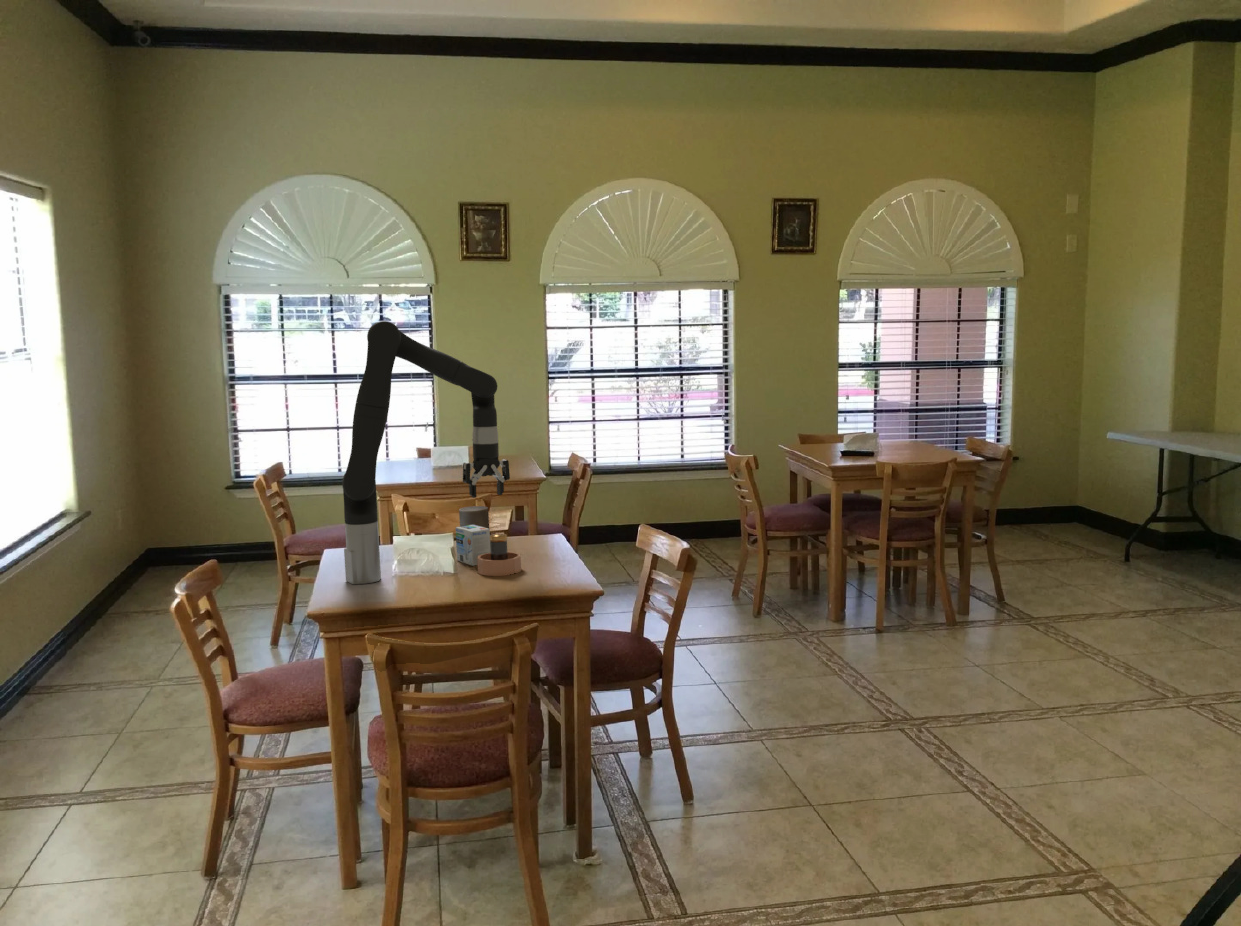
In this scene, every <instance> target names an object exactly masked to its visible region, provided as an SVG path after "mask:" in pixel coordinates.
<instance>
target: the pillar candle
mask: <svg viewBox="0 0 1241 926" xmlns="http://www.w3.org/2000/svg"><path fill="white" fill-rule="evenodd" d="M458 511H459V512H458V515H459V527H462V526H468V525H476V526H480V527H484V528H488V529H490V520H489V519H490V518H489V517H490V513H489V506H488V507H487V506H483V505H477V506H476V505H473V506H466V507H461V508H459V509H458Z"/></svg>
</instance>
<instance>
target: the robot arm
mask: <svg viewBox="0 0 1241 926" xmlns="http://www.w3.org/2000/svg"><path fill="white" fill-rule="evenodd" d="M366 339H367V354H366V355H367V356H366V364H365V370H364V372H363V376H362V378H361V382H360V385H359V388H358V393H357V395H356V401H355V405H354V411H353V419H352V431H351V450H350V455H349V459H348V463H347V466H346V471H345V473H344V475H343V478H342V480H341V481H342V483H341V485H342V492H343V493H342V494H343V515H344V528H345V529H344V530H345V532H344V533H345V548H344V549H343V551H344V552H343V553H344V555H343V556H344V569H345V570H344V571H345V573H344V574H345V581H346V582H348V583H349V584H351V585H363V584H371V583H375V582H378V581H379V582H380V581H381V580H382V571H381V570H382V569H381V556H380V555H381V552H380V537H379V536H380V535H379V519H378V500H377V499H378V498H377V481H376V476H377V475H376V474H377V473H376V472H377V463H378V462H377V461H378V454H379V450H380V448H381V443H382V441H383V436H384V432H385V429H386V426H387V420H388V416H389V411H390V409H389V408H390V401H391V395H392V394H391V392H392V376H393V375H392V373H393V368H394V364H395V360H396V358H399V359H402V360H404V361H407V362H409V363H411V364H414V365H415V366H417V367H419V368H421V369H423V370H424V371H426V372H428V373H430V374H432V375H433V376H435V377H438V378H439V379H440V380H444V381H445V382H447V383H450V384H452V385H455V386H457V387H458V386H459V387H461V388H463V389H465V390H466V391H468V392H469V393H470V394H471V403H472V435H471V436H472V439H471V440H472V459H473V461H472V462H463V463H462V483H464V484H468V489H469V490H468V491H469V496H470V497H471V498H474V499H475V498H476V499H477V485H476V484H477V482H478V481H479V480H480V479H481V477H488V476H490V477H493V478H495V480H496V481H497V482H496V494H497V495H498V496H502V495H503V494H504V492H505V488H504V487H505V486H504V485H505V484H504V483H505V482H506V481H509V480H510V478H511V476H510V466H509V465H510V463H509V460H508V459H504V458H503V459H501V460H499V455H500V454H499V431H498V418H497V417H498V414H497V409H496V407H495V394H496V393H497V391H498V382H497V380H496V379H495V377H494V376H493V375H492V374H489V373H487V372H485V371H483V370H480V369H478V368H474V367H472V366H470V365H468V364H467V363H465V362H463V361H461V360H459V359H458V358H456V357H453V356H451V355H449V354H448V353H444V352H442V351H440V350H437V349H435V348H432V347H430V346H427V345H425V344H423V343H421V342H418V341H416V340H415V339H413V338H411V337H409V336H408V335H407V334H405V333H404V332H402V331H401V330H400V329H399V328H398V327H397V325H396V324H394V322H391V321H388V320H380V321H377V322H375V323H373V324H372V325H371V326H370V327H369V329H368V331H367V335H366ZM499 467H501V472H500V471H499ZM472 469H474V471H473V472H472V474H471V470H472ZM501 473H502V474H501ZM380 579H381V580H380Z"/></svg>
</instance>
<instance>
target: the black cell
mask: <svg viewBox="0 0 1241 926" xmlns="http://www.w3.org/2000/svg"><path fill="white" fill-rule="evenodd" d="M507 552H508V534H506V533H492V534H490V553H491V560H506V559H508V554H507Z"/></svg>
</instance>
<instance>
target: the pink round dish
mask: <svg viewBox="0 0 1241 926" xmlns="http://www.w3.org/2000/svg"><path fill="white" fill-rule="evenodd" d="M507 554H508V559H506V560H491V553H485V554H482V555H479V556H478V558H477V564H478V565H477V574H479V575H481V576H489V577H499V576H500V577H503V576H510V574H511V575H515V574H514V573H516V574H518V573H520V572H522V560H521V559H522V558H521V557H522V556H521V555H522V554H521V553H519V552H515V551H507Z"/></svg>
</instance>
